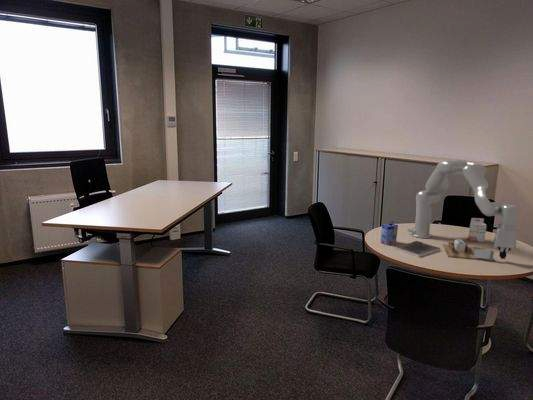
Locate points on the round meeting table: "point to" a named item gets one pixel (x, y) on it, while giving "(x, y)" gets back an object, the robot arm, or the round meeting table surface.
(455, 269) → the round meeting table surface
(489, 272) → the round meeting table surface
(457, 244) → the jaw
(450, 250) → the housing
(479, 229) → the ink cartridge box
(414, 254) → the picture frame
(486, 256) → the gate
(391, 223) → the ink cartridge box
